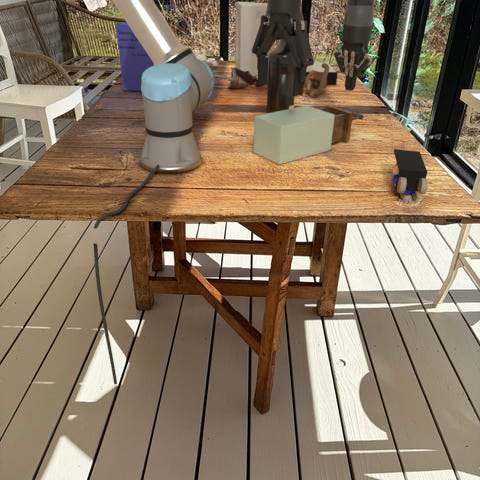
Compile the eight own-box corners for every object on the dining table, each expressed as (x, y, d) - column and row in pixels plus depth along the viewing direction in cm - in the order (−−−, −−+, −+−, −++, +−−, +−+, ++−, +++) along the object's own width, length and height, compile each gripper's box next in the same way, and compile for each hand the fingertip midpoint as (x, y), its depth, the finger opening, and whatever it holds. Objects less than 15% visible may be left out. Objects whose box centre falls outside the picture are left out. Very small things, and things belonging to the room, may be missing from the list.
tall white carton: (273, 76, 210) (276, 6, 196) (239, 77, 209) (240, 6, 194) (266, 67, 226) (268, 2, 212) (235, 67, 225) (235, 1, 210)
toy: (173, 75, 210) (172, 58, 207) (149, 64, 228) (148, 49, 224) (220, 69, 222) (220, 53, 218) (194, 59, 239) (193, 45, 236)
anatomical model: (314, 99, 193) (314, 101, 179) (299, 84, 192) (297, 84, 178) (337, 75, 188) (338, 74, 174) (321, 59, 188) (321, 57, 173)
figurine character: (424, 210, 105) (414, 176, 117) (433, 180, 100) (421, 147, 112) (393, 207, 106) (386, 174, 118) (400, 178, 101) (392, 146, 113)
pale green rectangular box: (303, 139, 140) (306, 105, 135) (330, 150, 133) (334, 114, 128) (253, 152, 131) (254, 116, 126) (279, 164, 123) (281, 126, 118)
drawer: (338, 128, 147) (341, 101, 142) (362, 136, 140) (367, 109, 136) (280, 142, 135) (282, 114, 130) (304, 153, 128) (306, 123, 124)
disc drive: (294, 84, 198) (295, 72, 195) (288, 72, 217) (289, 61, 215) (336, 84, 198) (337, 72, 196) (326, 73, 218) (327, 61, 215)
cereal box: (169, 88, 189) (165, 22, 177) (167, 91, 185) (163, 24, 172) (126, 87, 190) (119, 21, 177) (123, 90, 186) (115, 23, 173)
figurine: (210, 87, 179) (288, 95, 182) (212, 65, 176) (291, 73, 180) (208, 84, 201) (278, 91, 205) (210, 64, 198) (280, 71, 202)
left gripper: (336, -2, 102) (325, 98, 113) (263, -10, 119) (260, 78, 130) (310, -1, 98) (302, 102, 109) (239, -9, 115) (238, 81, 126)
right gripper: (387, 25, 123) (376, 93, 132) (349, 19, 133) (341, 83, 142) (368, 27, 120) (358, 96, 129) (330, 21, 129) (323, 87, 138)
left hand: (279, 89), depth 120 cm, fingers open, 13 cm apart
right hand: (349, 89), depth 135 cm, fingers closed
